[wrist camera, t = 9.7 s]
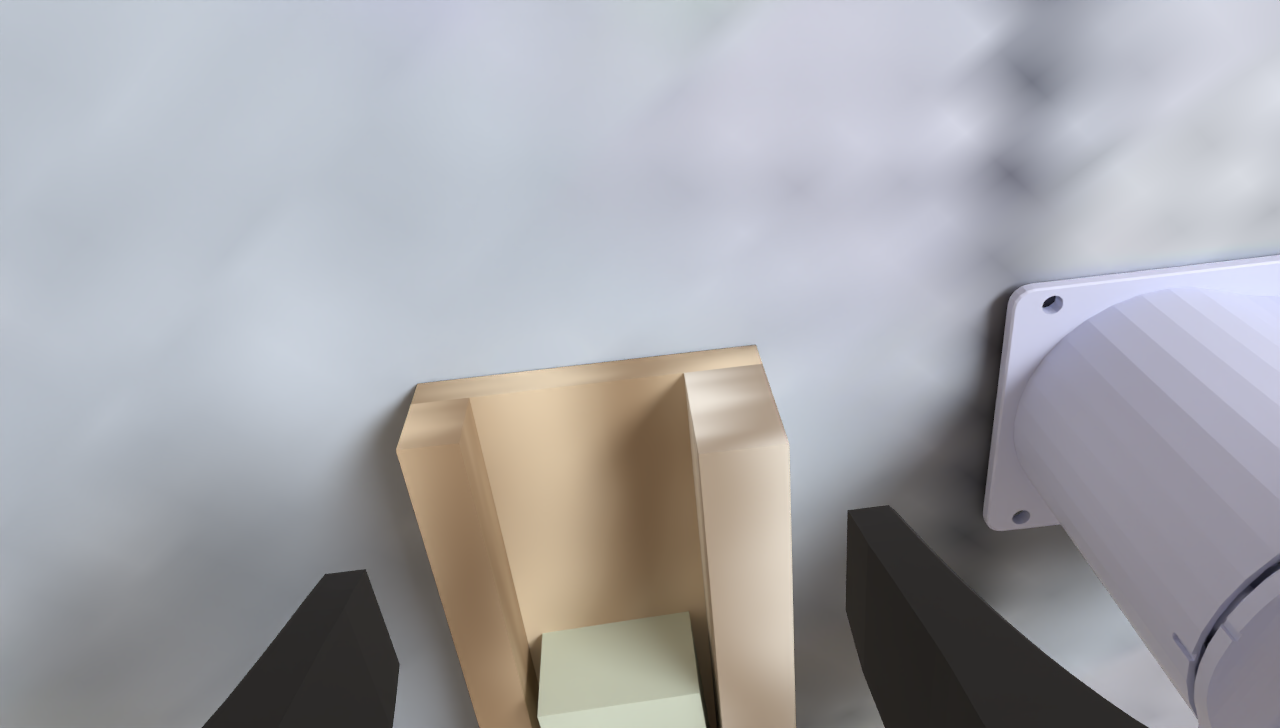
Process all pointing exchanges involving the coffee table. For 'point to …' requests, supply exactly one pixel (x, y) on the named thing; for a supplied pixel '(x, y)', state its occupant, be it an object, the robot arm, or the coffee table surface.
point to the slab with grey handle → (622, 676)
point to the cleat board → (610, 520)
